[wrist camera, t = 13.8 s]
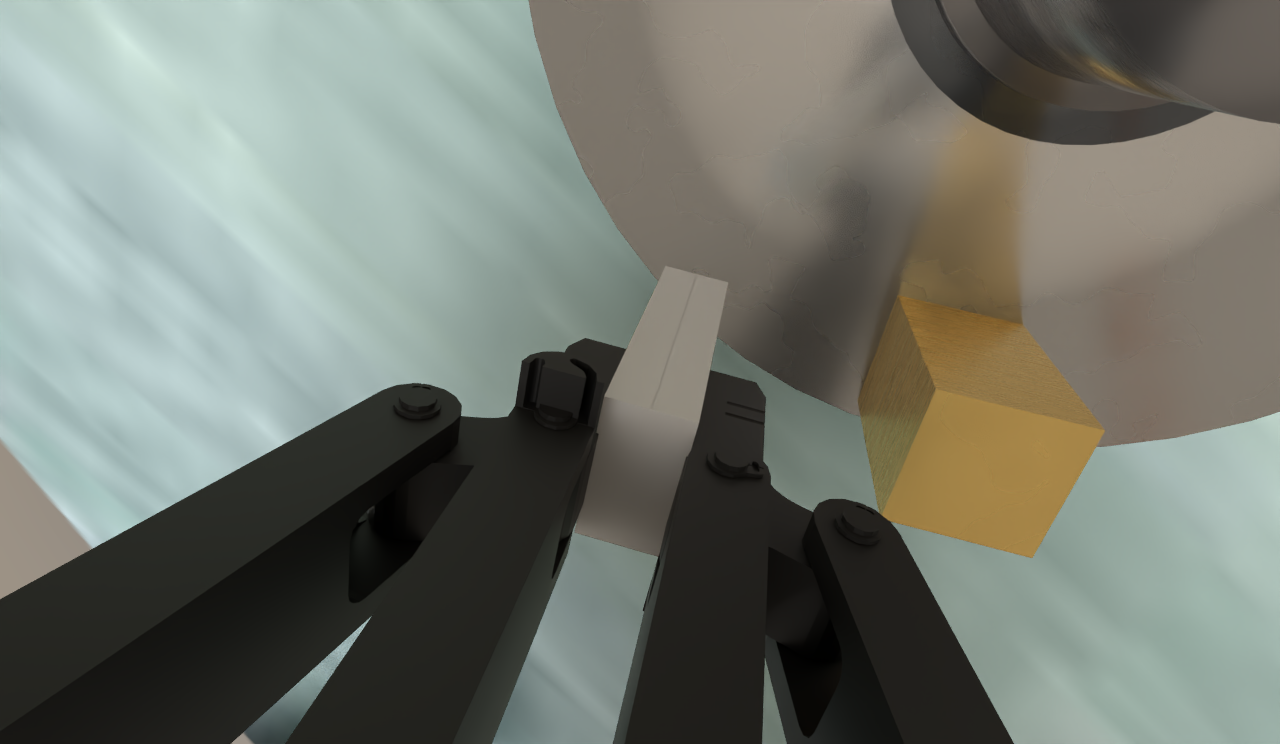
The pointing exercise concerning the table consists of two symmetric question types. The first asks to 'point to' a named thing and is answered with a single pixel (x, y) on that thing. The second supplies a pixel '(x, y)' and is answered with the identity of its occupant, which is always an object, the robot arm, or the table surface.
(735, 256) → the turntable
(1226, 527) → the table surface
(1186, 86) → the cover
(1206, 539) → the table surface
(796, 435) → the table surface
